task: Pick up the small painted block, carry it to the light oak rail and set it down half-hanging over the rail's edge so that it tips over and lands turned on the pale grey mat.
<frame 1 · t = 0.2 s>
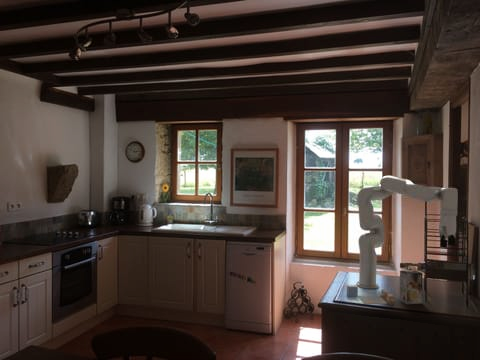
hand: (447, 246, 189), 31 cm above the countertop, tool pointing down, fingers open, 9 cm apart
block: (351, 296, 205), on the countertop
mat: (372, 300, 199), on the countertop
coffee box: (410, 302, 197), on the countertop
rail: (387, 300, 198), on the countertop
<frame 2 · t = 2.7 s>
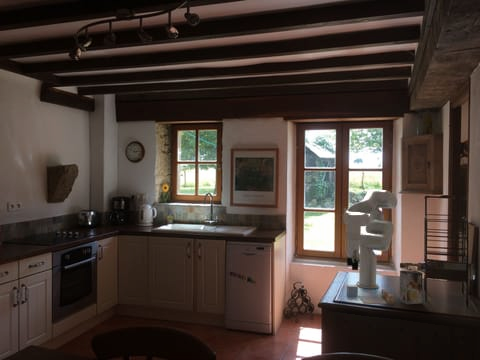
hand: (352, 267, 204), 16 cm above the countertop, tool pointing down, fingers open, 9 cm apart
nothing on the countertop moved.
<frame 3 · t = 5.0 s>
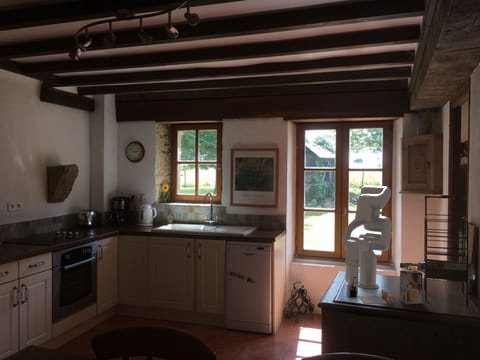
hand: (352, 295, 205), 0 cm above the countertop, tool pointing down, fingers closed on block, 4 cm apart
block: (351, 296, 205), on the countertop, touching gripper
everything else where it was.
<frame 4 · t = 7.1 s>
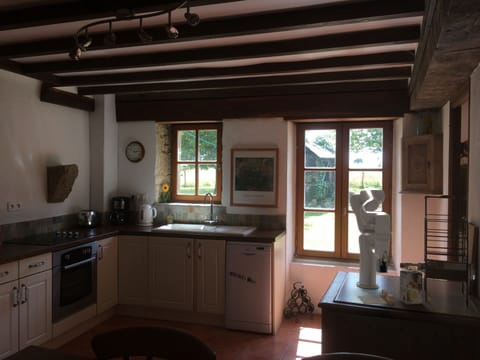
hand: (381, 271, 198), 15 cm above the countertop, tool pointing down, fingers closed on block, 4 cm apart
block: (381, 271, 198), point 15 cm above the countertop, touching gripper
everything else where it was.
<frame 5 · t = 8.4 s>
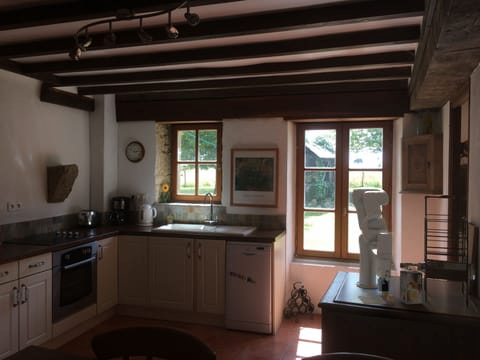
hand: (383, 289, 198), 6 cm above the countertop, tool pointing down, fingers closed on block, 4 cm apart
block: (383, 290, 198), point 5 cm above the countertop, touching gripper
everything else where it was.
when the fingers open (5 cm above the countertop, at t = 9.0 s): block drops 2 cm and tips over, resting on mat.
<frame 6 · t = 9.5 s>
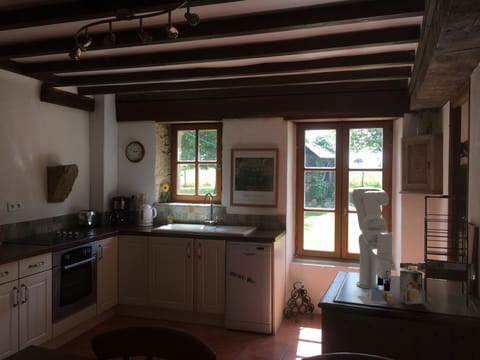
hand: (383, 288, 198), 6 cm above the countertop, tool pointing down, fingers open, 9 cm apart
block: (381, 294, 199), point 3 cm above the countertop, tilted 90°, touching mat
everything else where it was.
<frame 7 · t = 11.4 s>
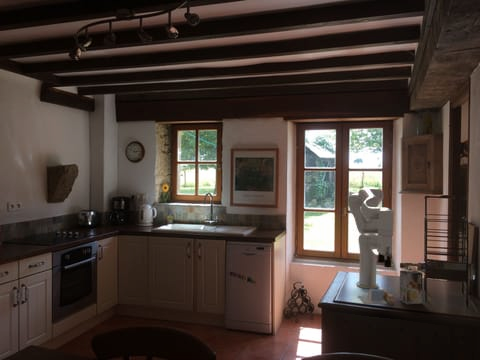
hand: (384, 264, 199), 19 cm above the countertop, tool pointing down, fingers open, 9 cm apart
nothing on the countertop moved.
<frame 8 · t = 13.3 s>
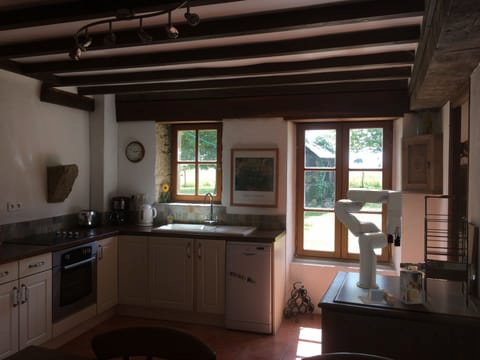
hand: (393, 244, 205), 28 cm above the countertop, tool pointing down, fingers open, 9 cm apart
nothing on the countertop moved.
at the end: block tilted 90°; block inside the target area (5.0 cm from its centre), point 2.9 cm above the countertop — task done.
